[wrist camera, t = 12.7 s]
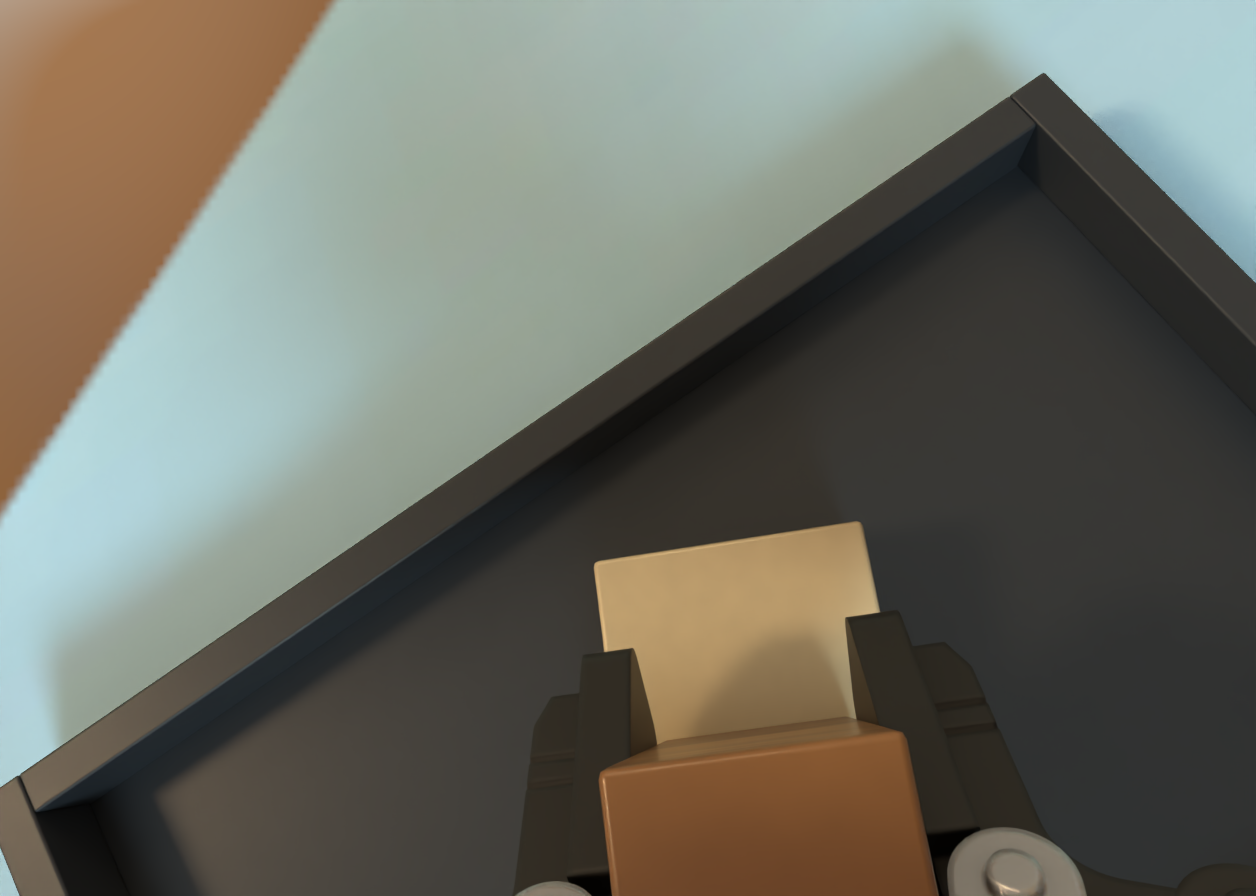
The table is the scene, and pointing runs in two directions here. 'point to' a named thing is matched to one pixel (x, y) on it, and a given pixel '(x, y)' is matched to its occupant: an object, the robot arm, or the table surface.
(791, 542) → the stacked wooden blocks
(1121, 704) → the tray
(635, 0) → the table surface
